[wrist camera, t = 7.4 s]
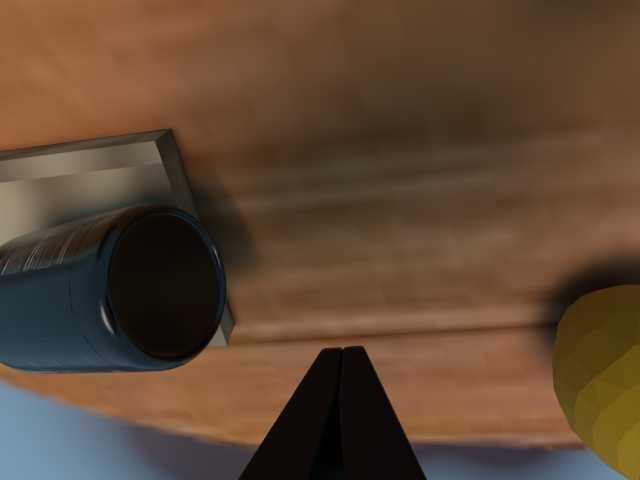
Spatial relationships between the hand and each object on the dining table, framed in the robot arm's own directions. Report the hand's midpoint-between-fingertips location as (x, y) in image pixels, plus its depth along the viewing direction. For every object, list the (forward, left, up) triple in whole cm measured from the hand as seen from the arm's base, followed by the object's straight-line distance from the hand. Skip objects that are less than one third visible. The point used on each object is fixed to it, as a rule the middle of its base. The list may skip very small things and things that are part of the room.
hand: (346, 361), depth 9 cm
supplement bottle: (+7, +3, -7) cm, 10 cm away
